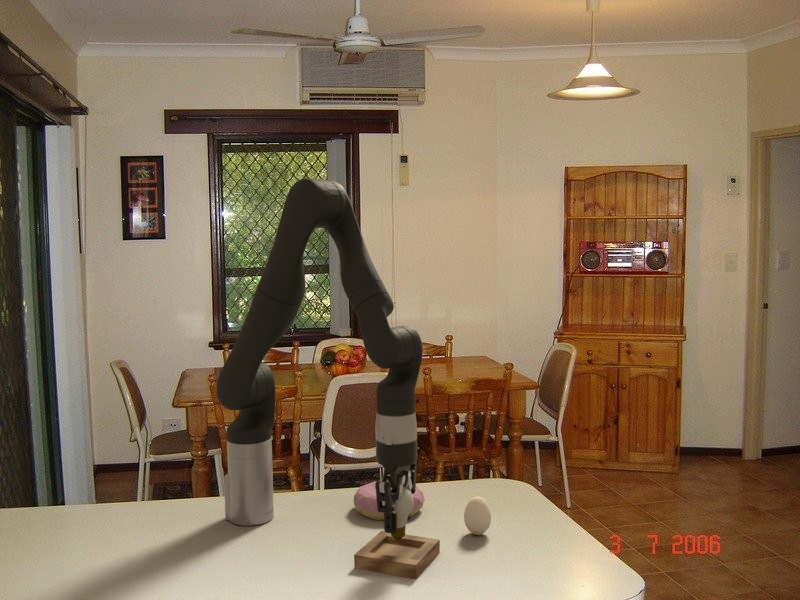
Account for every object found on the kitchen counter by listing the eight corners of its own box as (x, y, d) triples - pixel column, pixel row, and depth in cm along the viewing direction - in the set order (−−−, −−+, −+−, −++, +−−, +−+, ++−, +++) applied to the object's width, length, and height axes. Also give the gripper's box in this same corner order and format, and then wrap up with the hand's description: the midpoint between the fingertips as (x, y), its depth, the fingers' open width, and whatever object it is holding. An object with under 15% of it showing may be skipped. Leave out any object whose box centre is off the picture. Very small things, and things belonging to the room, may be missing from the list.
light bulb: (410, 546, 144) (410, 492, 143) (378, 544, 145) (378, 490, 144) (416, 534, 150) (416, 482, 149) (386, 532, 151) (385, 480, 150)
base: (354, 568, 145) (354, 554, 144) (381, 543, 156) (381, 530, 155) (416, 578, 140) (416, 565, 140) (439, 552, 151) (439, 539, 151)
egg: (484, 527, 163) (484, 491, 162) (495, 537, 158) (495, 499, 157) (459, 531, 161) (459, 494, 160) (470, 541, 156) (470, 503, 155)
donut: (430, 501, 179) (430, 479, 179) (415, 526, 164) (415, 503, 164) (363, 496, 183) (363, 475, 182) (343, 520, 168) (343, 497, 167)
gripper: (393, 425, 154) (394, 510, 155) (360, 444, 140) (362, 537, 142) (429, 428, 151) (430, 515, 152) (399, 449, 137) (401, 543, 139)
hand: (397, 525), depth 147 cm, fingers closed on light bulb, 5 cm apart
